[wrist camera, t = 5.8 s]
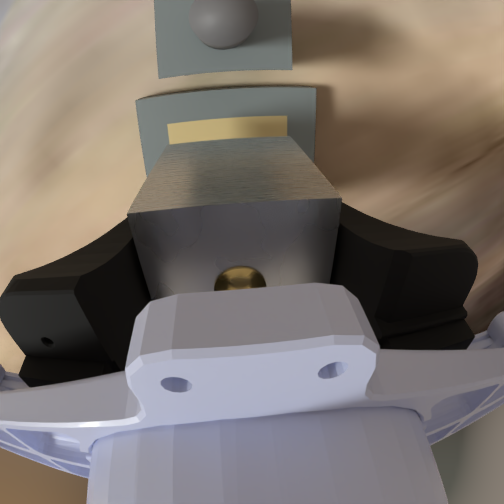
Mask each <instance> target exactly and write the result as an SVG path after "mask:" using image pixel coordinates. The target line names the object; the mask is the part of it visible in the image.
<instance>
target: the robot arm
mask: <svg viewBox="0 0 504 504" xmlns="http://www.w3.org/2000/svg"><path fill="white" fill-rule="evenodd" d="M477 269H478V260H477V256H476V255H475V253H474V252H473V251H472V250H471V248H470V247H469V246H468V245H467V244H466V243H465V242H464V241H462V240H457V239H450V238H443V237H437V236H432V235H427V234H423V233H418V232H415V231H411V230H407V229H404V228H401V227H398V226H394V225H391V224H388V223H386V222H383V221H381V220H378V219H376V218H373V217H371V216H369V215H366V214H364V213H362V212H360V211H358V210H356V209H354V208H352V207H350V206H348V205H346V204H344V203H342V202H341V210H340V218H339V225H338V233H337V240H336V246H335V253H334V259H333V266H332V272H331V278H330V284H323V283H305V284H295V285H285V286H274V287H263V288H251V289H239V290H226V291H212V292H198V293H183V294H175V295H172V296H168V297H165V298H161V299H157V300H154V301H152V299H151V296H150V293H149V290H148V286H147V283H146V280H145V277H144V274H143V270H142V267H141V264H140V260H139V257H138V253H137V250H136V246H135V243H134V239H133V235H132V232H131V228H130V224H129V220H128V217H127V218H126V219H125V220H123V221H122V222H121V223H119V224H118V225H117V226H115V227H114V228H112V229H111V230H110V231H108V232H107V233H106V234H104V235H103V236H101V237H100V238H98V239H96V240H95V241H93V242H91V243H90V244H88V245H86V246H85V247H83V248H81V249H79V250H77V251H75V252H73V253H71V254H69V255H67V256H65V257H63V258H61V259H59V260H56V261H54V262H52V263H49V264H47V265H44V266H42V267H39V268H36V269H33V270H30V271H27V272H24V273H21V274H18V275H15V276H14V277H13V278H12V280H11V281H10V283H9V284H8V286H7V287H6V289H5V291H4V292H3V294H2V295H1V297H0V318H1V321H2V323H3V325H4V327H5V328H6V330H7V331H8V333H9V334H10V335H11V337H12V338H13V340H14V341H15V342H16V344H17V345H18V346H19V347H20V349H21V350H22V351H23V353H24V354H25V355H26V357H25V359H24V362H23V365H22V367H21V370H20V372H19V374H17V373H12V372H6V371H5V369H4V368H3V367H2V365H1V364H0V447H1V448H3V449H6V450H8V451H11V452H13V453H15V454H18V455H20V456H23V457H26V458H28V459H31V460H33V461H36V462H39V463H41V464H44V465H47V466H50V467H53V468H56V469H59V470H62V471H65V472H68V473H71V474H75V475H78V476H81V477H85V478H89V481H88V492H87V504H449V503H448V500H447V496H446V493H445V490H444V486H443V483H442V480H441V477H440V474H439V471H438V468H437V465H436V462H435V459H434V456H433V453H432V450H431V447H430V445H432V444H434V443H436V442H438V441H440V440H442V439H444V438H446V437H448V436H450V435H452V434H453V433H455V432H457V431H459V430H461V429H462V428H464V427H466V426H468V425H469V424H471V423H473V422H475V421H476V420H478V419H480V418H481V417H483V416H484V415H486V414H488V413H490V412H491V411H493V410H494V409H496V408H497V407H499V406H501V405H502V404H504V311H503V312H501V313H499V314H498V315H497V316H495V318H494V319H493V320H492V322H491V323H490V325H489V327H488V329H487V331H484V332H482V333H479V334H476V335H474V334H473V332H472V331H471V329H470V327H469V326H468V324H467V323H466V321H465V320H464V318H466V317H467V311H466V310H465V308H464V307H463V304H464V302H465V300H466V298H467V296H468V294H469V292H470V290H471V288H472V286H473V283H474V281H475V278H476V275H477Z"/></svg>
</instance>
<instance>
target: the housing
mask: <svg viewBox="0 0 504 504" xmlns="http://www.w3.org/2000/svg"><path fill="white" fill-rule="evenodd" d="M341 202H342V197H341V196H340V195H339V194H338V192H337V191H336V190H335V189H334V187H333V186H332V185H331V184H330V182H329V181H328V180H327V179H326V177H325V176H324V175H323V174H322V173H321V171H320V170H319V169H318V168H317V167H316V165H315V164H314V163H313V162H312V161H311V160H310V158H309V157H308V156H307V155H306V154H305V153H304V151H303V150H302V149H301V148H300V147H299V146H298V145H297V143H296V142H295V141H294V140H293V139H292V138H291V137H290V136H279V137H252V138H234V139H220V140H208V141H197V142H187V143H178V144H170V145H167V146H166V148H165V149H164V151H163V152H162V154H161V156H160V157H159V159H158V160H157V162H156V164H155V165H154V167H153V169H152V170H151V172H150V174H149V175H148V177H147V179H146V180H145V182H144V184H143V186H142V187H141V189H140V191H139V193H138V194H137V196H136V198H135V200H134V201H133V203H132V205H131V207H130V209H129V211H128V212H127V216H128V220H129V224H130V228H131V232H132V235H133V239H134V243H135V246H136V250H137V253H138V257H139V260H140V264H141V267H142V270H143V274H144V277H145V280H146V283H147V286H148V290H149V293H150V296H151V299H152V301H154V300H157V299H161V298H165V297H168V296H172V295H175V294H183V293H198V292H212V291H226V290H239V289H251V288H263V287H274V286H285V285H295V284H305V283H323V284H330V278H331V272H332V266H333V259H334V253H335V246H336V240H337V233H338V225H339V218H340V210H341Z"/></svg>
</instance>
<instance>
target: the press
mask: <svg viewBox="0 0 504 504" xmlns="http://www.w3.org/2000/svg"><path fill="white" fill-rule="evenodd" d="M154 10H155V32H156V48H157V62H158V74H159V79H161V78H168V77H175V76H182V75H191V74H200V73H211V72H224V71H241V70H292V28H291V0H154ZM135 102H136V110H137V117H138V125H139V132H140V139H141V145H142V152H143V158H144V164H145V169H146V175H147V177H148V175H149V174H150V172H151V170H152V169H153V167H154V165H155V164H156V162H157V160H158V159H159V157H160V156H161V154H162V152H163V151H164V149H165V148H166V146H167V145H170V144H178V143H187V142H197V141H208V140H220V139H234V138H252V137H279V136H290V137H291V138H292V139H293V140H294V141H295V142H296V143H297V145H298V146H299V147H300V148H301V149H302V150H303V151H304V153H305V154H306V155H307V156H308V157H309V158H310V160H311V161H312V162H313V163H314V151H315V124H316V88H314V87H310V86H247V87H228V88H215V89H203V90H194V91H185V92H177V93H170V94H163V95H156V96H150V97H144V98H140V99H138V100H136V101H135Z"/></svg>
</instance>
